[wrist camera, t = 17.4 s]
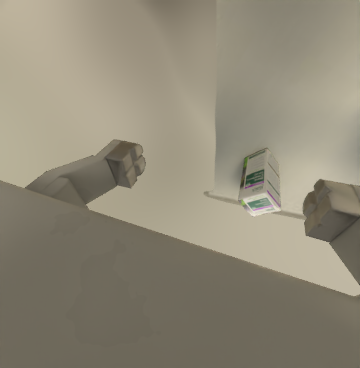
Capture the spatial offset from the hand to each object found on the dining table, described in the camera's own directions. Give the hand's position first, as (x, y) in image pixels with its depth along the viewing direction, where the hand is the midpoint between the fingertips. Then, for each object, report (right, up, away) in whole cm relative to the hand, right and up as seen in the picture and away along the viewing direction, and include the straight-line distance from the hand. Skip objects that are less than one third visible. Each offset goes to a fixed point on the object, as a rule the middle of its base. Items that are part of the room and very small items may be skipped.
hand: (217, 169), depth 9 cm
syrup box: (+18, +5, +35) cm, 40 cm away
